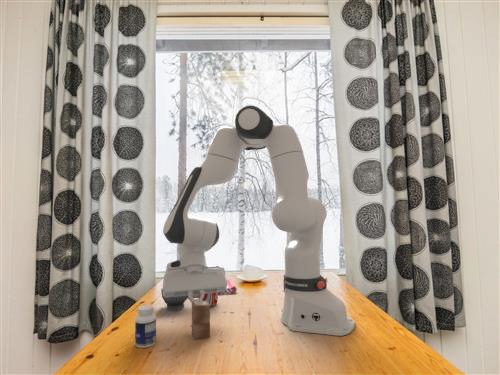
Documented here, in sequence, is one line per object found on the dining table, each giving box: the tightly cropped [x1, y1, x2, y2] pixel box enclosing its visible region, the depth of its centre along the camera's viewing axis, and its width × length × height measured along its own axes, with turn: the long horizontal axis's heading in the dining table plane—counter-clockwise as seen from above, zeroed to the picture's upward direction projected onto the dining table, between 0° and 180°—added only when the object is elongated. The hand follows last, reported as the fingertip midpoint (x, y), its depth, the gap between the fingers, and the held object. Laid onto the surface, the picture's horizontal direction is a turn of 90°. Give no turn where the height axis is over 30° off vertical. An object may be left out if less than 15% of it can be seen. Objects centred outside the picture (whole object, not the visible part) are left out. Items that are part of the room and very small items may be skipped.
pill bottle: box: [134, 304, 157, 349], centre depth 87 cm, size 5×5×10 cm
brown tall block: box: [191, 301, 211, 341], centre depth 92 cm, size 4×4×9 cm
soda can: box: [198, 293, 219, 307], centre depth 120 cm, size 7×7×12 cm
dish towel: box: [192, 279, 238, 298], centre depth 139 cm, size 17×23×4 cm
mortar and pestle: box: [160, 287, 188, 311], centre depth 117 cm, size 11×9×12 cm
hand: (197, 306), depth 98 cm, fingers closed
